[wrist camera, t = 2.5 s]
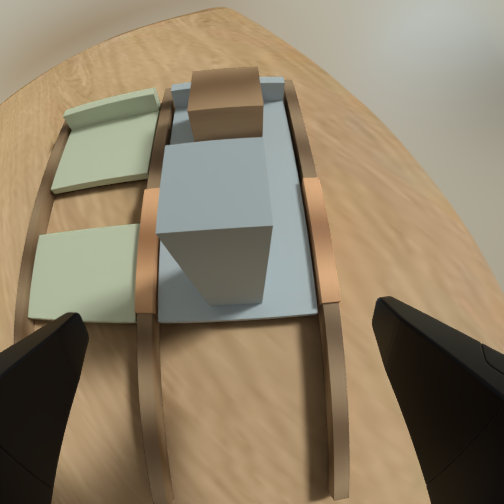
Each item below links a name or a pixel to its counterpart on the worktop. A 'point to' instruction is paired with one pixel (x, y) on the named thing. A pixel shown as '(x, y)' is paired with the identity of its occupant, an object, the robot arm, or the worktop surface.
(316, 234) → the lane rails
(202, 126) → the walnut cube
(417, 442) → the robot arm
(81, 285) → the broken strip
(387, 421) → the worktop surface
